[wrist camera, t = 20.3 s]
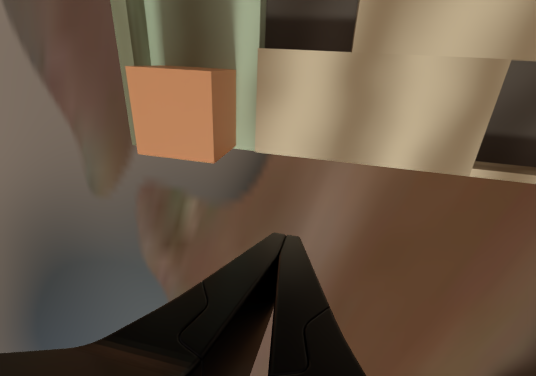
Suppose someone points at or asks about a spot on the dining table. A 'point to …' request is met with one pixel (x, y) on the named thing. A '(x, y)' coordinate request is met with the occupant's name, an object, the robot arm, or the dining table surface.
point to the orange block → (183, 111)
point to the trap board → (359, 76)
